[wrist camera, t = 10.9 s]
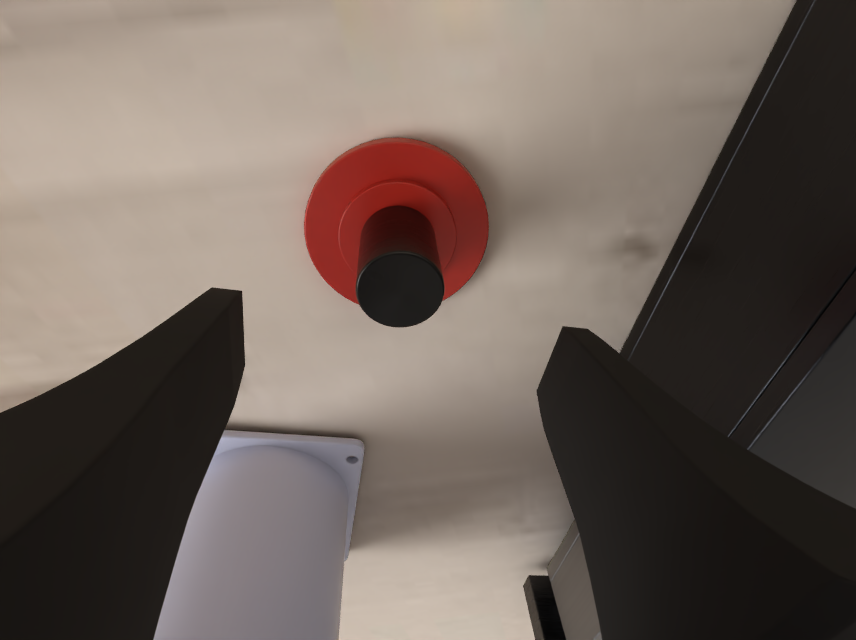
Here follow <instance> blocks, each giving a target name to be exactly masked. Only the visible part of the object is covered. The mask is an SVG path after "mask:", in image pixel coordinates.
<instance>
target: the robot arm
mask: <svg viewBox="0 0 856 640" xmlns="http://www.w3.org/2000/svg"><path fill="white" fill-rule="evenodd" d="M244 367H245V352H244V327H243V302H242V291H238V290H229V289H220V288H211V289H209V290H208V291H206V292H205V293H203V294H202V295H201V296H199V297H198V298H196V299H195V300H194V301H192V302H191V303H189V304H188V305H187V306H185V307H184V308H183V309H181V310H180V311H178V312H177V313H176V314H174V315H173V316H171V317H170V318H169V319H167V320H166V321H164V322H163V323H162V324H160V325H159V326H157V327H156V328H154V329H153V330H152V331H150V332H149V333H147V334H146V335H144V336H143V337H141V338H140V339H138V340H136V341H135V342H133V343H132V344H130V345H128V346H127V347H125V348H124V349H122V350H120V351H119V352H117V353H116V354H114V355H112V356H111V357H109V358H108V359H106V360H104V361H103V362H101V363H100V364H98V365H96V366H94V367H93V368H91V369H89V370H87V371H86V372H84V373H82V374H80V375H78V376H76V377H75V378H73V379H71V380H69V381H67V382H65V383H63V384H61V385H59V386H57V387H55V388H53V389H51V390H49V391H47V392H45V393H43V394H41V395H39V396H37V397H35V398H33V399H31V400H29V401H26V402H24V403H22V404H20V405H17V406H15V407H13V408H11V409H8V410H6V411H4V412H1V413H0V640H339V626H340V612H341V598H342V584H343V570H344V561H346V560H347V558H348V554H349V547H350V541H351V535H352V528H353V522H354V515H355V509H356V503H357V496H358V490H359V483H360V477H361V470H362V464H363V458H364V448H365V447H364V443H363V442H362V441H360V440H359V439H354V438H339V437H324V436H309V435H294V434H279V433H264V432H249V431H234V430H225V427H226V425H227V422H228V420H229V417H230V415H231V413H232V410H233V408H234V405H235V401H236V398H237V394H238V391H239V387H240V383H241V379H242V375H243V371H244ZM537 396H538V402H539V408H540V413H541V418H542V422H543V427H544V431H545V434H546V437H547V440H548V443H549V446H550V449H551V452H552V455H553V458H554V460H555V463H556V466H557V469H558V472H559V475H560V477H561V480H562V483H563V486H564V489H565V492H566V494H567V497H568V500H569V503H570V506H571V509H572V511H573V514H574V518H575V521H576V524H577V528H578V531H579V534H580V538H581V543H582V547H583V551H584V555H585V560H586V564H587V568H588V572H589V577H590V581H591V586H592V591H593V596H594V601H595V605H596V610H597V615H598V620H599V625H600V631H601V637H602V640H856V509H855V508H853V507H851V506H849V505H847V504H845V503H843V502H841V501H839V500H837V499H835V498H833V497H831V496H829V495H827V494H825V493H823V492H821V491H819V490H817V489H815V488H813V487H812V486H810V485H808V484H806V483H804V482H802V481H800V480H799V479H797V478H795V477H793V476H792V475H790V474H788V473H786V472H785V471H783V470H781V469H779V468H777V467H776V466H774V465H772V464H770V463H769V462H767V461H765V460H764V459H762V458H760V457H759V456H757V455H755V454H754V453H752V452H750V451H749V450H747V449H746V448H744V447H743V446H741V445H740V444H738V443H737V442H735V441H733V440H732V439H730V438H729V437H727V436H726V435H724V434H723V433H721V432H720V431H718V430H717V429H715V428H714V427H712V426H711V425H709V424H708V423H707V422H705V421H704V420H702V419H701V418H700V417H698V416H697V415H696V414H694V413H693V412H692V411H690V410H689V409H688V408H686V407H685V406H684V405H682V404H681V403H680V402H678V401H677V400H676V399H674V398H673V397H672V396H670V395H669V394H668V393H667V392H665V391H664V390H663V389H662V388H660V387H659V386H658V385H657V384H655V383H654V382H653V381H652V380H650V379H649V378H648V377H647V376H646V375H644V374H643V373H642V372H641V371H640V370H638V369H637V368H636V367H635V366H634V365H632V364H631V363H630V362H629V361H628V360H626V359H625V358H624V357H623V356H622V355H620V354H619V353H618V352H617V351H616V350H614V349H613V348H612V347H611V346H609V345H608V344H607V343H606V342H604V341H603V340H602V339H601V338H599V337H598V336H597V335H595V334H594V333H592V332H591V331H589V330H588V329H583V328H574V327H565V326H563V327H562V330H561V332H560V334H559V337H558V339H557V342H556V344H555V347H554V349H553V352H552V354H551V357H550V359H549V362H548V364H547V367H546V369H545V371H544V374H543V376H542V379H541V381H540V384H539V386H538V389H537ZM351 456H355V457H351Z"/></svg>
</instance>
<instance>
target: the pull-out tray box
mask: <svg viewBox="0 0 856 640" xmlns="http://www.w3.org/2000/svg"><path fill="white" fill-rule="evenodd" d="M547 572H548V575H549V576H536V575H529V576H528V578H527V580H526V581H525V583H524V585H523V588H524V592H525V596H526V601H527V605H528V610H529V614H530V618H531V623H532V627H533V632H534V636H535V640H602V637H601V631H600V625H599V620H598V615H597V610H596V605H595V601H594V596H593V591H592V586H591V581H590V577H589V572H588V568H587V564H586V560H585V555H584V551H583V547H582V543H581V538H580V534H579V531H578V528H577V524H576V521H575V520H574V522H573V523H572V525H571V527H570V529H569V530H568V532H567V534H566V536H565V537H564V539H563V541H562V543H561V544H560V546H559V548H558V550H557V551H556V553H555V555H554V557H553V558H552V560H551V562H550V563H549V565H548V567H547Z"/></svg>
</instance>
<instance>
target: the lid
mask: <svg viewBox="0 0 856 640" xmlns="http://www.w3.org/2000/svg"><path fill="white" fill-rule="evenodd" d="M488 231H489V222H488V213H487V209H486V204H485V201H484V199H483V196H482V194H481V191H480V189H479V187H478V185H477V184H476V182H475V180H474V178H473V177H472V176H471V174H470V173H469V172H468V170H467V169H466V168H465V167H464V166H463V165H462V164H461V163H460V162H459V161H458V160H457V159H455V158H454V157H453V156H451V155H450V154H449V153H447V152H445V151H444V150H442V149H440V148H438V147H436V146H434V145H431V144H428V143H426V142H423V141H418V140H414V139H407V138H384V139H378V140H372V141H369V142H366V143H363V144H360V145H358V146H356V147H354V148H352V149H350V150H348V151H346V152H345V153H343V154H342V155H340V156H339V157H338V158H336V159H335V160H334V161H333V162H332V163H331V164H330V165H329V166H328V167H327V168H326V169H325V171H324V172H323V173H322V174H321V176H320V177H319V179H318V180H317V182H316V184H315V185H314V188H313V190H312V192H311V195H310V197H309V200H308V204H307V208H306V212H305V220H304V233H305V240H306V245H307V249H308V252H309V255H310V257H311V259H312V261H313V263H314V265H315V267H316V269H317V270H318V272H319V273H320V275H321V276H322V277H323V278H324V280H325V281H326V282H327V283H328V284H329V285H330V286H331V287H332V288H333V289H334V290H336V291H337V292H338V293H340V294H341V295H342V296H344V297H345V298H347V299H349V300H351V301H353V302H354V303H357V304H359V305H360V307H361V308H362V310H363V311H364V312H365V313H366V314H367V315H368V316H369V317H370V318H372V319H373V320H374V321H376V322H378V323H380V324H383V325H386V326H391V327H409V326H413V325H417V324H419V323H421V322H423V321H425V320H427V319H428V318H429V317H431V316H432V315H433V314H434V313H435V312H436V311H437V309H438V308H439V306H440V305H441V302H442V301H443V300H445V299H446V298H448V297H450V296H451V295H453V294H454V293H455V292H457V291H458V290H459V289H460V288H461V287H462V286H463V285H465V283H466V282H467V281H468V280H469V279H470V278H471V277H472V275H473V274H474V272H475V271H476V269H477V268H478V266H479V264H480V262H481V260H482V258H483V255H484V252H485V249H486V245H487V240H488Z"/></svg>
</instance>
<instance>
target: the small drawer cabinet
mask: <svg viewBox="0 0 856 640" xmlns="http://www.w3.org/2000/svg"><path fill="white" fill-rule="evenodd" d="M620 355H622V356H623V357H624V358H625V359H626V360H628V361H629V362H630V363H631V364H632V365H634V366H635V367H636V368H637V369H638V370H640V371H641V372H642V373H643V374H644V375H646V376H647V377H648V378H649V379H650V380H652V381H653V382H654V383H655V384H657V385H658V386H659V387H660V388H662V389H663V390H664V391H665V392H667V393H668V394H669V395H670V396H672V397H673V398H674V399H676V400H677V401H678V402H680V403H681V404H682V405H684V406H685V407H686V408H688V409H689V410H690V411H692V412H693V413H694V414H696V415H697V416H698V417H700V418H701V419H702V420H704V421H705V422H707V423H708V424H709V425H711V426H712V427H714V428H715V429H717V430H718V431H720V432H721V433H723V434H724V435H726V436H727V437H729V438H730V439H732V440H733V441H735V442H737V443H738V444H740V445H741V446H743V447H744V448H746V449H747V450H749V451H750V452H752V453H754V454H755V455H757V456H759V457H760V458H762V459H764V460H765V461H767V462H769V463H770V464H772V465H774V466H776V467H777V468H779V469H781V470H783V471H785V472H786V473H788V474H790V475H792V476H793V477H795V478H797V479H799V480H800V481H802V482H804V483H806V484H808V485H810V486H812V487H813V488H815V489H817V490H819V491H821V492H823V493H825V494H827V495H829V496H831V497H833V498H835V499H837V500H839V501H841V502H843V503H845V504H847V505H849V506H851V507H853V508H855V509H856V0H797V1H796V3H795V5H794V7H793V9H792V11H791V13H790V15H789V17H788V19H787V21H786V23H785V25H784V27H783V29H782V31H781V33H780V35H779V37H778V39H777V41H776V43H775V45H774V47H773V49H772V51H771V53H770V55H769V57H768V59H767V61H766V63H765V65H764V67H763V69H762V71H761V73H760V75H759V77H758V79H757V81H756V83H755V85H754V87H753V89H752V91H751V93H750V95H749V97H748V99H747V101H746V103H745V105H744V107H743V109H742V111H741V113H740V115H739V117H738V119H737V121H736V123H735V125H734V127H733V129H732V131H731V133H730V135H729V137H728V139H727V141H726V143H725V145H724V147H723V149H722V151H721V153H720V155H719V157H718V159H717V161H716V163H715V165H714V167H713V169H712V171H711V173H710V175H709V177H708V179H707V181H706V183H705V185H704V187H703V189H702V191H701V193H700V195H699V197H698V199H697V201H696V203H695V205H694V207H693V209H692V211H691V213H690V215H689V217H688V219H687V221H686V223H685V225H684V227H683V229H682V231H681V233H680V235H679V237H678V239H677V241H676V243H675V245H674V247H673V249H672V251H671V253H670V254H669V256H668V258H667V260H666V262H665V264H664V266H663V268H662V270H661V272H660V274H659V276H658V278H657V280H656V282H655V284H654V286H653V288H652V290H651V292H650V294H649V296H648V298H647V300H646V302H645V304H644V306H643V308H642V310H641V312H640V314H639V316H638V318H637V320H636V322H635V324H634V326H633V328H632V330H631V332H630V334H629V336H628V338H627V340H626V342H625V344H624V346H623V348H622V350H621V352H620Z"/></svg>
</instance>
